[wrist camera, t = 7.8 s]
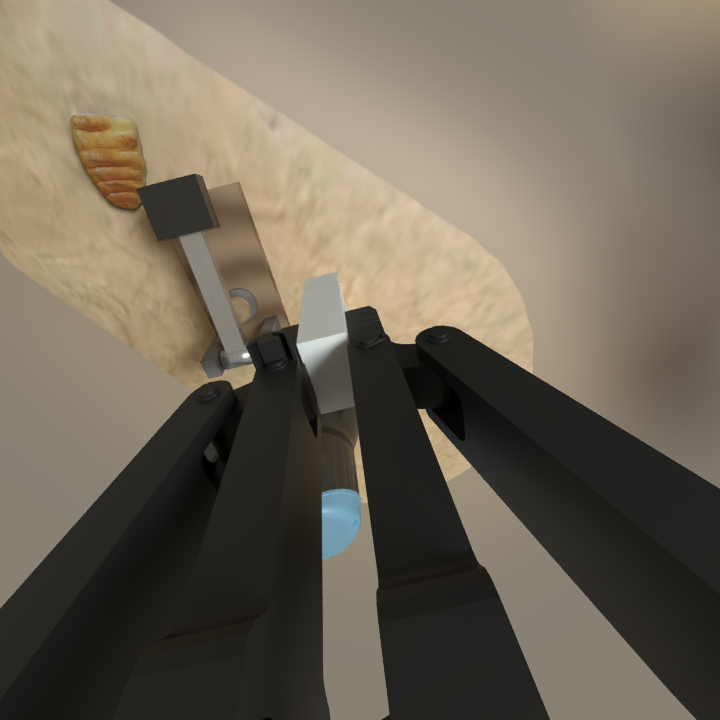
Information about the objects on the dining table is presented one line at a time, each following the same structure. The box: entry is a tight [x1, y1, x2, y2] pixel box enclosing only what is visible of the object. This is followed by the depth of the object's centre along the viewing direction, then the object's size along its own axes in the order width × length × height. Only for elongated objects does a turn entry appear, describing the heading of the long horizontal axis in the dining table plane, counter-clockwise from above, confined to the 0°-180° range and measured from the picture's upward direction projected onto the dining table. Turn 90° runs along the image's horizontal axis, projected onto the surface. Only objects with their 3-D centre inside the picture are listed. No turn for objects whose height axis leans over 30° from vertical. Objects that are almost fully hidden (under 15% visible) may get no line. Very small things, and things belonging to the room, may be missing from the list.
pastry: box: [70, 114, 147, 209], centre depth 38 cm, size 9×7×4 cm
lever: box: [136, 174, 253, 370], centre depth 38 cm, size 21×6×3 cm, turn 14°
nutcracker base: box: [171, 182, 290, 379], centre depth 42 cm, size 20×10×12 cm, turn 12°
